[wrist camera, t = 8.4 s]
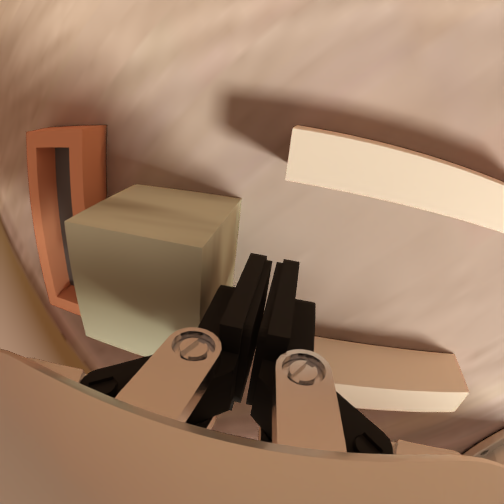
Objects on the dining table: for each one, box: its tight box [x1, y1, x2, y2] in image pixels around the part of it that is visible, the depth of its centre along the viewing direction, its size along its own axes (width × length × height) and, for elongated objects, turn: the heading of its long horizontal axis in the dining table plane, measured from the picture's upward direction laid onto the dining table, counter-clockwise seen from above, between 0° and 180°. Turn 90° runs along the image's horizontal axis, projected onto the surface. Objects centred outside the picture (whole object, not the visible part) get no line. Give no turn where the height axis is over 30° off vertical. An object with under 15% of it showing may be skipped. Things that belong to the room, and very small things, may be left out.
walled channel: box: [285, 125, 504, 412], centre depth 12 cm, size 11×11×3 cm
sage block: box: [64, 184, 242, 357], centre depth 12 cm, size 5×5×5 cm
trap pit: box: [26, 125, 107, 316], centre depth 14 cm, size 10×4×2 cm, turn 173°
